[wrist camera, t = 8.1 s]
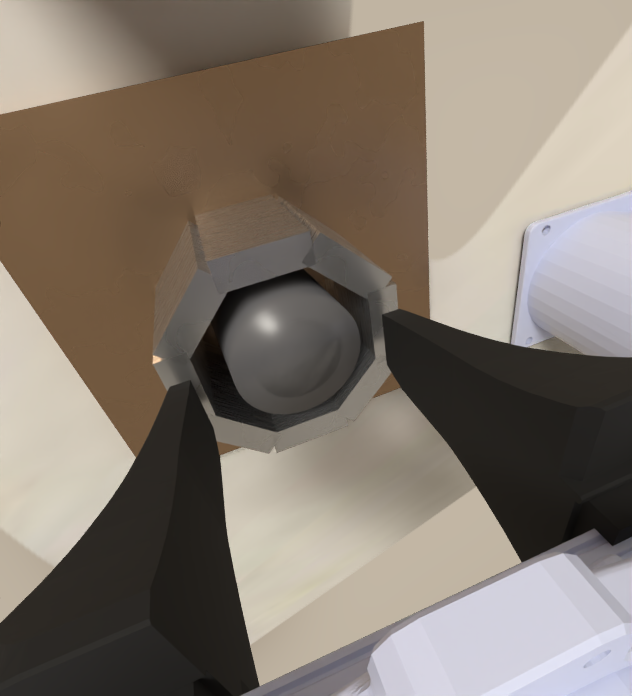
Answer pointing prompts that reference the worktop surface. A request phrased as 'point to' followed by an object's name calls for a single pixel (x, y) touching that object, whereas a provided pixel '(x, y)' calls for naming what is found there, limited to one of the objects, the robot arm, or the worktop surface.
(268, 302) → the grey short cylinder
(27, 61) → the worktop surface
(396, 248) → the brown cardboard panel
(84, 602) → the robot arm
